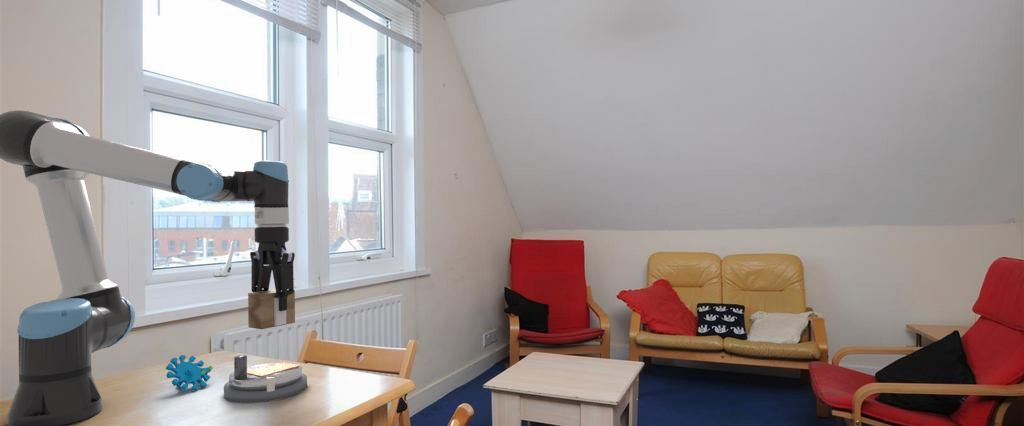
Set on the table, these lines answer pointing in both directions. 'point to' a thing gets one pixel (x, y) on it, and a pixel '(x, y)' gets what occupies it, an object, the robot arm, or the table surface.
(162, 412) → the table surface
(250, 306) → the link block
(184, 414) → the table surface
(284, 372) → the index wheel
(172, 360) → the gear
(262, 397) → the wheel base
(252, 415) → the table surface
